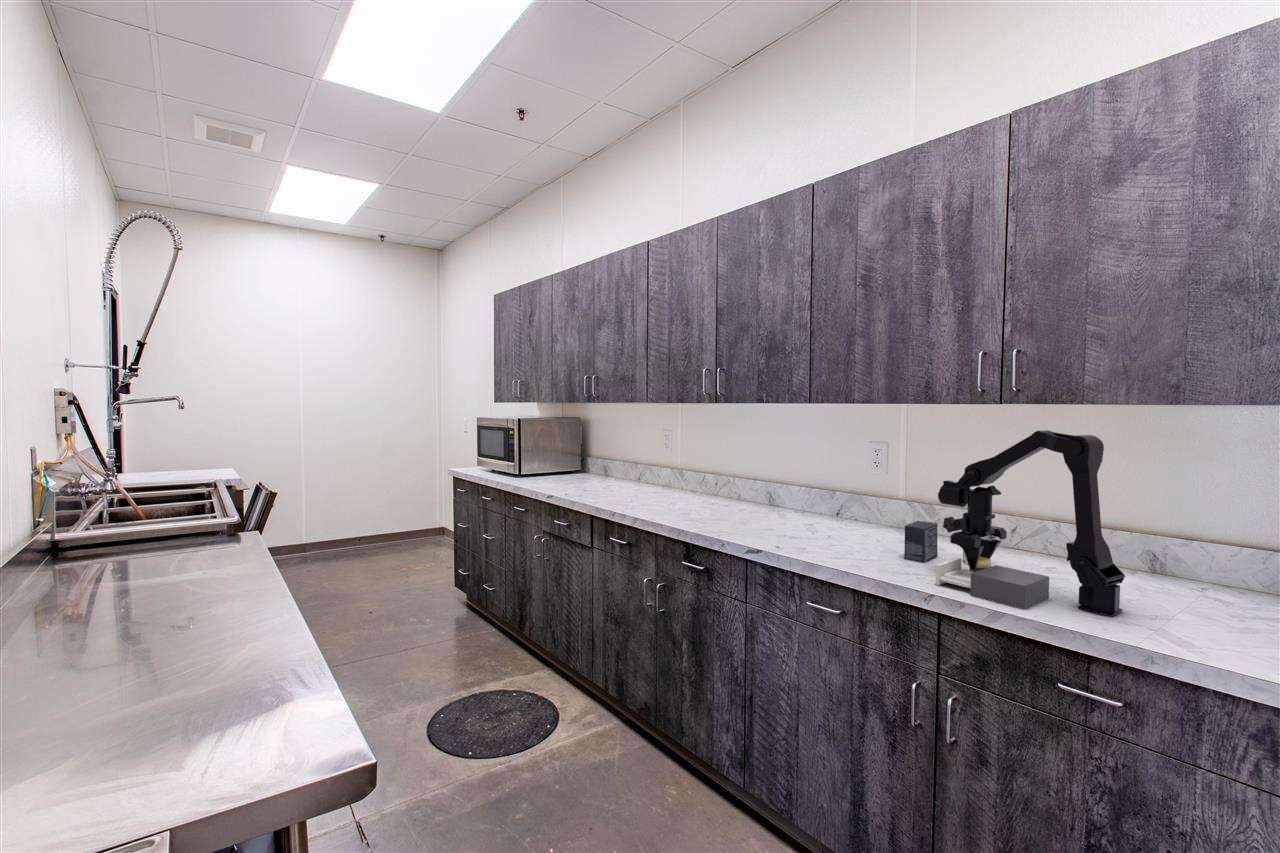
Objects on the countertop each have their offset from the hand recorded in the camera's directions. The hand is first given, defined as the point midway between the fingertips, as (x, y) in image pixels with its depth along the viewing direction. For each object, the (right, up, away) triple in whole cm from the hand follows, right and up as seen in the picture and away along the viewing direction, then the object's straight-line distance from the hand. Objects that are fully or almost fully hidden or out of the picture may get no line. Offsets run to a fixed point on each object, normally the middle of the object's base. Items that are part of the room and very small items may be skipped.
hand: (978, 567), depth 157 cm
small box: (-6, -2, +21) cm, 21 cm away
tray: (-7, -3, -8) cm, 11 cm away
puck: (0, -3, 0) cm, 3 cm away
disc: (0, +1, 0) cm, 1 cm away
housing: (-1, -3, -15) cm, 16 cm away
